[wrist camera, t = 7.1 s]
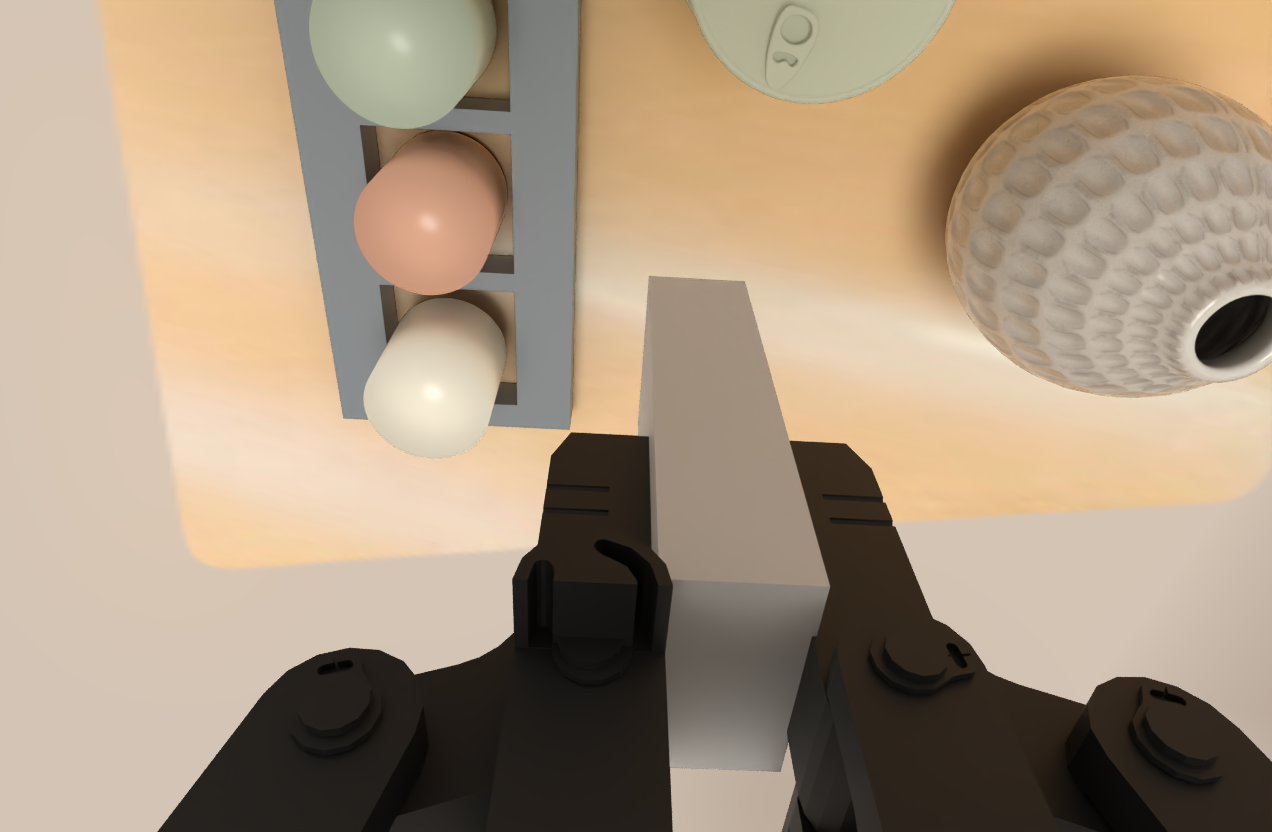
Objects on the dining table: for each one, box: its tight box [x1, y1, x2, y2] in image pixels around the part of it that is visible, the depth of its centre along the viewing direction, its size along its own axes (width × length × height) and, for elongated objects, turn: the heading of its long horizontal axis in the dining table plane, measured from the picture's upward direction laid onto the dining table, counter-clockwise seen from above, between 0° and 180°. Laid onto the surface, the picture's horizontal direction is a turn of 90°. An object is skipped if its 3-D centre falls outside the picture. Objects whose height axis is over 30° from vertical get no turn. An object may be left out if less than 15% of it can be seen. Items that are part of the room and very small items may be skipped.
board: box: [274, 0, 581, 430], centre depth 40 cm, size 26×13×2 cm, turn 177°
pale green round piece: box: [309, 0, 497, 129], centre depth 32 cm, size 6×6×6 cm
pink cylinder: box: [354, 131, 508, 295], centre depth 38 cm, size 6×6×6 cm
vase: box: [945, 75, 1272, 398], centre depth 34 cm, size 13×13×17 cm
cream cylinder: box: [363, 298, 507, 459], centre depth 41 cm, size 6×6×6 cm
